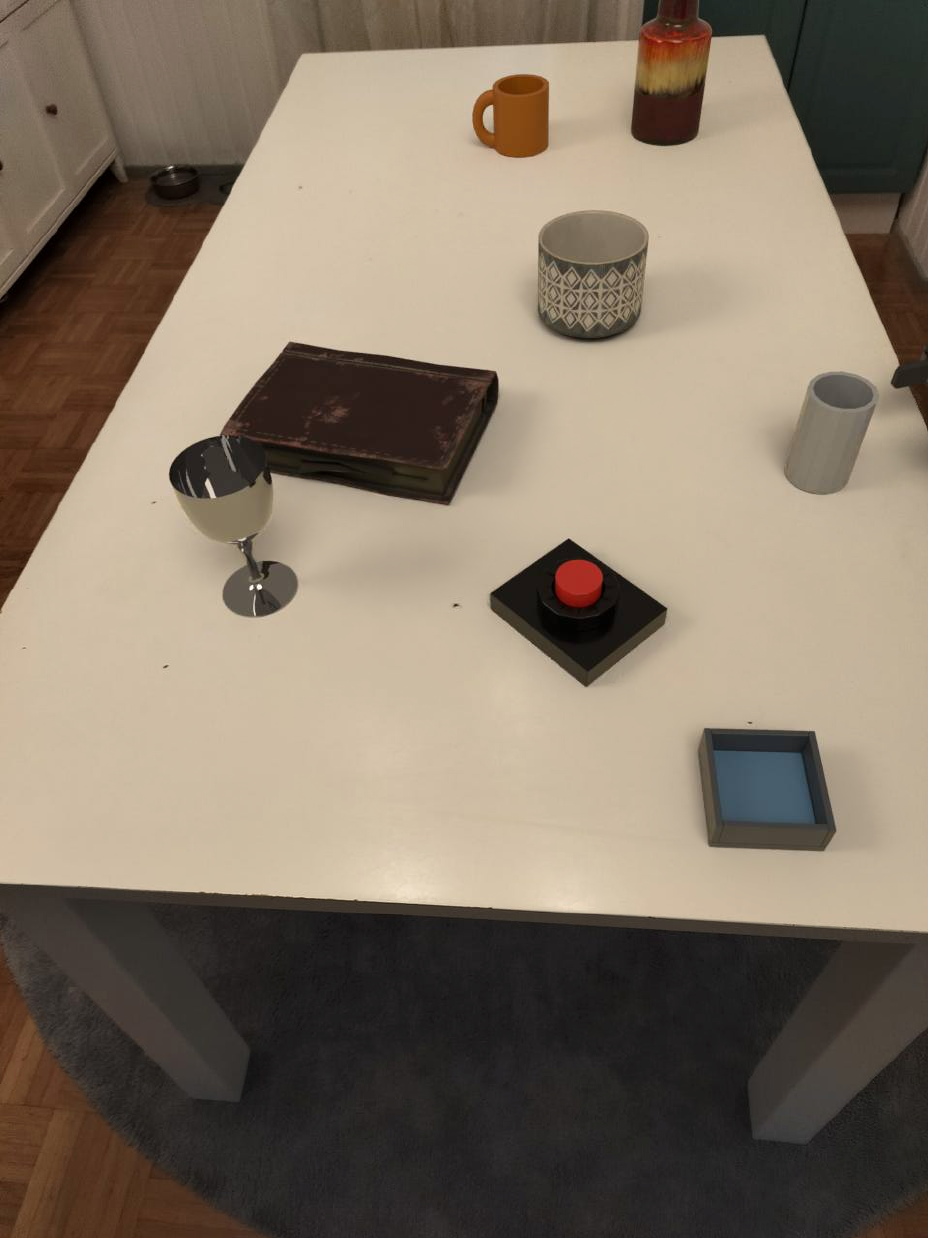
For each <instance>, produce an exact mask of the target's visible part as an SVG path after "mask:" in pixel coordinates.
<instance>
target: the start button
mask: <svg viewBox="0 0 928 1238" xmlns="http://www.w3.org/2000/svg"><path fill="white" fill-rule="evenodd" d="M602 582H603V575H602V572H601V570H600V569H599V568H598V567H597V566H596V565H595V564H593V563H591V562H589V561H585V560H572V561H568V562H566V563H564V564H562V565H561V566H560V567H559V568H558V570H557V572H556V577H555V593H556V595H557V597H558V599H559V600H560V601H561V602H563V603H564V604H566V605H568V606H573V607H586V606H589V605H592V604H593V603H595V602H596V601H597V600H598V599H599V598H600V596H601V592H602Z"/></svg>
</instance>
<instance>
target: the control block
mask: <svg viewBox="0 0 928 1238" xmlns="http://www.w3.org/2000/svg"><path fill="white" fill-rule="evenodd" d="M572 560H585V561H589V562H591V563H593V564H595V565H596V566H597V567H598V568H599V569H600V570H601V572H602V575H603V582H602V592H601V596H600V598H599V599H598V600H597V601H596V602H595V603H593V604H592V605H589V606H586V607H573V606H568V605H566V604H564V603H563V602H561V601H560V600H559V599H558V597H557V595H556V593H555V577H556V572H557V570H558V568H559V567H560V566H561V565H562V564H564V563H566V562H568V561H572ZM489 603H490V605H489V606H490V610H491V611H492V612H494V613H495V614H496V615H498V617H500V618H501V619H502V620H503V621H505V623H507V624H508V626H510V627H512V628H513V629H514V630H516V631H517V632H518V633H519V634H520V635H522V636H523V637H524V638H525V639H526V640H528V641H529V642H531V644H532V645H534V646H535V647H536V648H537V649H539V650H540V651H541V652H542V653H544V654H545V655H546V656H547V657H548V658H550V659H551V660H552V661H553V662H554V663H556V664H557V665H558V666H559V667H561V668H562V669H563V670H564V671H565V672H567V674H569V675H570V676H572V677H573V678H574V679H575V680H577V681H578V682H579V683H580V684H581V685H583V686H584V687H586V688H587V687H589V686H590V685H591V684H592V683H594V682H595V681H596V680H597V679H599V678H600V677H601V676H602V675H603V674H605V673H606V672H607V671H608V670H610V669H611V668H612V667H614V666H615V665H616V664H617V663H618V662H620V661H621V660H622V659H623V658H624V657H626V656H627V655H628V654H630V653H631V652H632V651H634V650H635V649H636V648H637V647H638V646H640V645H641V644H642V643H644V642H645V640H647V639H648V638H650V637H651V636H652V635H653V634H654V633H656V632H657V631H658V630H659V629H660V628H662V627H663V626H665V624H666V619H667V613H668V607H667V606H665V605H664V604H662V603H661V602H659V601H658V600H657V599H655V598H654V597H652V596H651V595H650V594H648V593H647V592H646V591H644V590H643V589H641V588H640V587H638V586H637V585H635V584H634V583H633V582H631V581H630V580H629V579H627V578H626V577H624V576H623V575H622V574H620V573H618V572H617V571H616V570H615V569H613V568H612V567H610V566H609V565H607V564H606V563H605V562H603V561H602V560H600V559H599V558H598V557H597V556H594V555H593V554H592V553H590V552H589V551H588V550H587V549H585V548H584V547H582V546H580V545H579V544H578V543H576V542H575V541H574V540H572V539H571V538H567V539H565V540H563V542H561V543H560V544H558V545H557V546H555V547H554V548H553V549H551V550H549V551H548V552H547V553H545V554H543V556H541V557H540V558H537V560H535V561H534V562H533V563H531V564H530V565H528V566H527V567H525V568H524V569H523V570H521V571H519V572H518V573H517V574H515V575H514V576H513V577H511V578H509V579H508V580H507V581H505V582H504V583H503V584H501V585H500V586H498V587H497V588H495V589H494V590H493V591H491V592H490V593H489Z"/></svg>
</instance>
